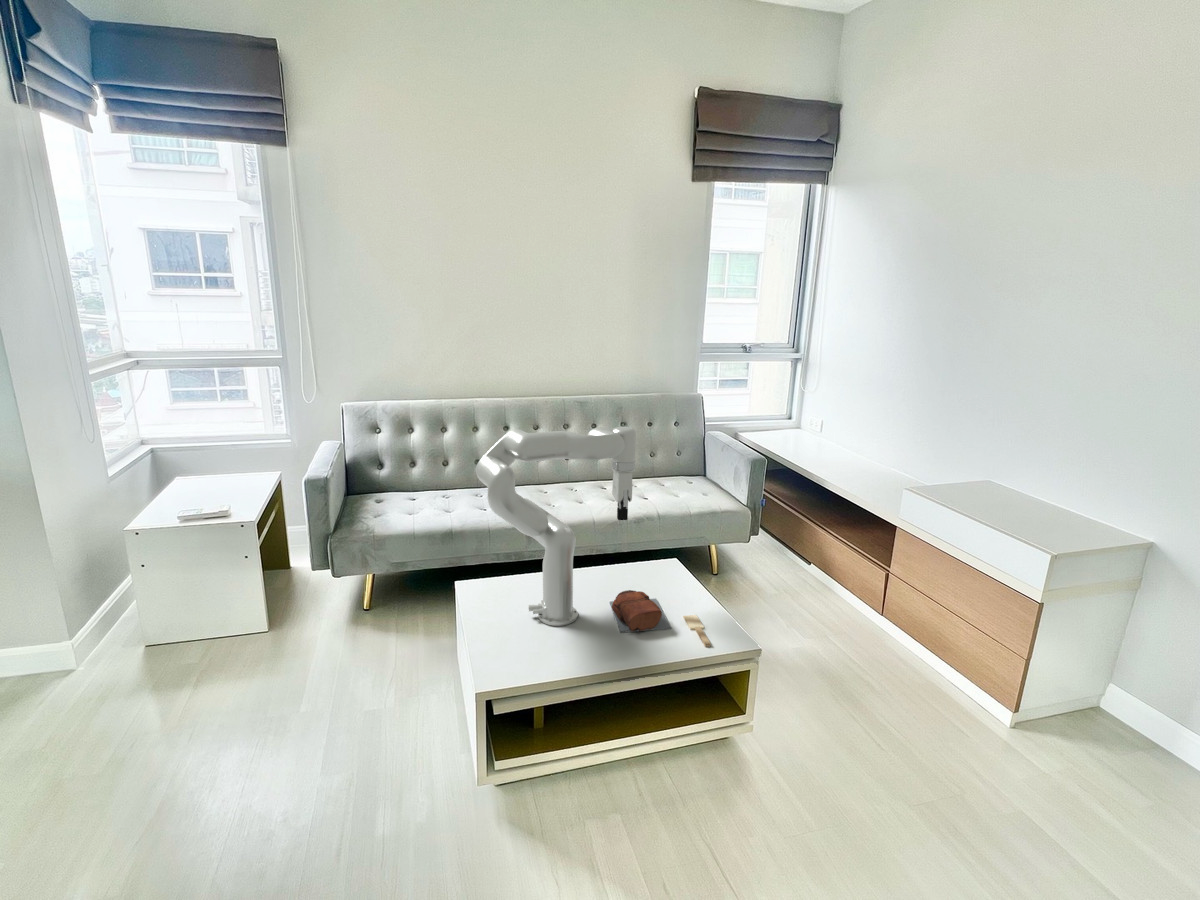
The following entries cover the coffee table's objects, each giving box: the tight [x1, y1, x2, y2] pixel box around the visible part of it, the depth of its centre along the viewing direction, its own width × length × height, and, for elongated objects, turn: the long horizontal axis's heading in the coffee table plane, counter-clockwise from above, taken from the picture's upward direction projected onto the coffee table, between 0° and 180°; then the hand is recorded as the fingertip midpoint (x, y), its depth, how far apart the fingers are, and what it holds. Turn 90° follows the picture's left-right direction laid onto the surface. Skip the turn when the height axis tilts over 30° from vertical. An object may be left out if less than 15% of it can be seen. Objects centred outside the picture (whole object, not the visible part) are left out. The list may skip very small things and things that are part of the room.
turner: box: [682, 614, 712, 648], centre depth 191 cm, size 18×4×1 cm, turn 9°
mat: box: [609, 598, 672, 633], centre depth 200 cm, size 16×19×1 cm
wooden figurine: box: [611, 589, 662, 632], centre depth 197 cm, size 12×6×18 cm
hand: (622, 519), depth 203 cm, fingers closed
